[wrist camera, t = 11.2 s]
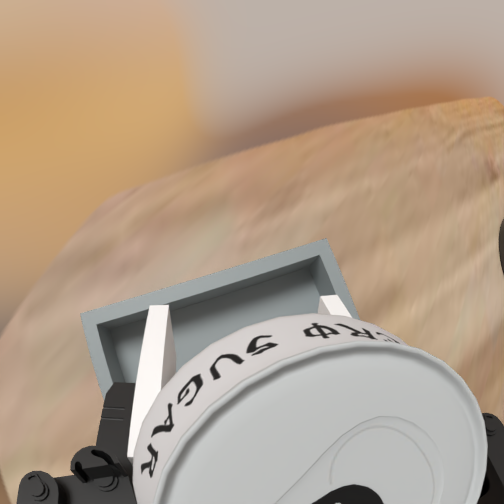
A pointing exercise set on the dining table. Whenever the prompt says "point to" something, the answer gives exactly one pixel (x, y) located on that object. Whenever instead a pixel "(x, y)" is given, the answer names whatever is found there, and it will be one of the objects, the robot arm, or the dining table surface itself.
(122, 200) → the dining table surface
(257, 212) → the dining table surface
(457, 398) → the energy drink can
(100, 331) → the hinged lid tray
